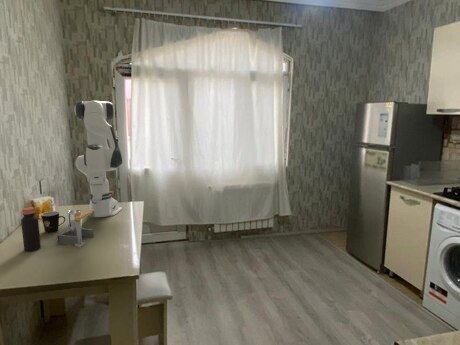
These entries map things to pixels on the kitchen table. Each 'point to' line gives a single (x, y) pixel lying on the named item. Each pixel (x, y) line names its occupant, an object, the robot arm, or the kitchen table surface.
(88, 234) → the cradle
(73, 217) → the beer glass
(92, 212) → the bar
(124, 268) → the kitchen table surface
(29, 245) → the bottle
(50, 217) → the coffee mug
